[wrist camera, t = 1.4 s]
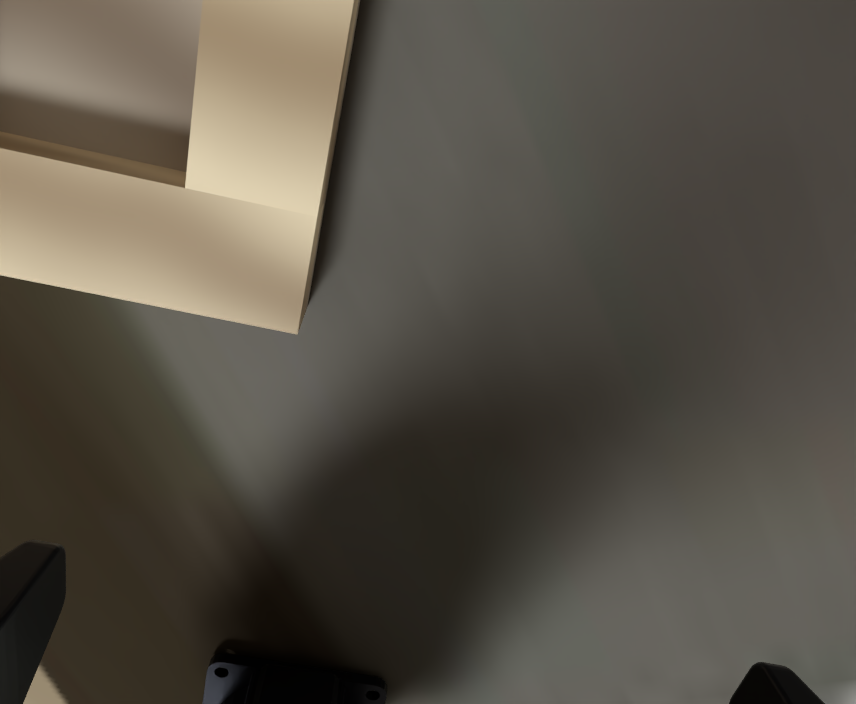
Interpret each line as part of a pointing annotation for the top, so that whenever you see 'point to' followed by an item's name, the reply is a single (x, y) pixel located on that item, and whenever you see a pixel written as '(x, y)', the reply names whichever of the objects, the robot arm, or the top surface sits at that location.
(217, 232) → the socket block
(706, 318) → the top surface
